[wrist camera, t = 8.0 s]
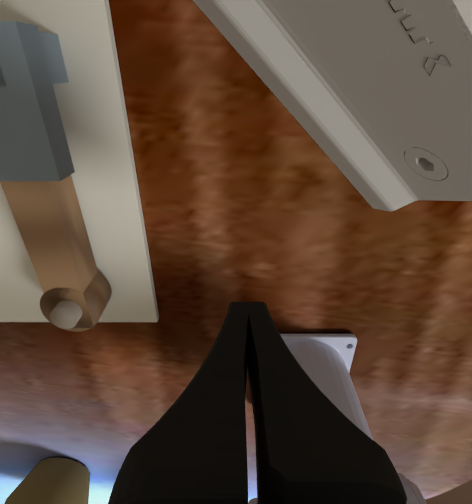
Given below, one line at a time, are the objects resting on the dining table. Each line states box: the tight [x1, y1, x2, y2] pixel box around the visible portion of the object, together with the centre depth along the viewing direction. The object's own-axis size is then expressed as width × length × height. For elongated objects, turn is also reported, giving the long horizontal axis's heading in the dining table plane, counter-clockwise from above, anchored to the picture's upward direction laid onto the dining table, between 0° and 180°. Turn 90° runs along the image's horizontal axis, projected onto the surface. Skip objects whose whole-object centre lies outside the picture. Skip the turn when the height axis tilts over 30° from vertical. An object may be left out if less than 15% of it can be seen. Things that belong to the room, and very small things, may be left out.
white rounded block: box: [193, 0, 472, 211], centre depth 13 cm, size 17×5×10 cm, turn 46°
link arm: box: [0, 175, 112, 332], centre depth 18 cm, size 13×4×3 cm, turn 1°
